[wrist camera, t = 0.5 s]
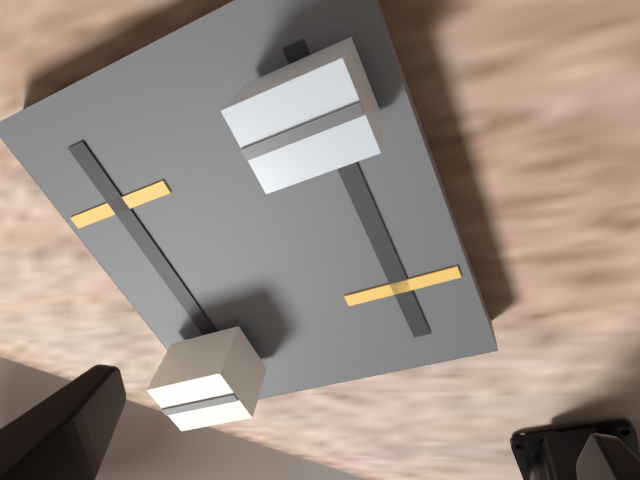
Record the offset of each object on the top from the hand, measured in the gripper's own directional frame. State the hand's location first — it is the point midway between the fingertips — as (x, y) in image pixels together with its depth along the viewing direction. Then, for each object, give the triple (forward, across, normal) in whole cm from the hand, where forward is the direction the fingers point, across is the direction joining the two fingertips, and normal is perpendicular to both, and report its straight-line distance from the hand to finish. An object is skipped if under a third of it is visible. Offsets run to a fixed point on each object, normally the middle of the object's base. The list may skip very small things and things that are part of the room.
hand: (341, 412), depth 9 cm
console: (+13, +5, +4) cm, 15 cm away
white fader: (+11, +2, -3) cm, 11 cm away
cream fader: (+11, +7, +11) cm, 17 cm away
